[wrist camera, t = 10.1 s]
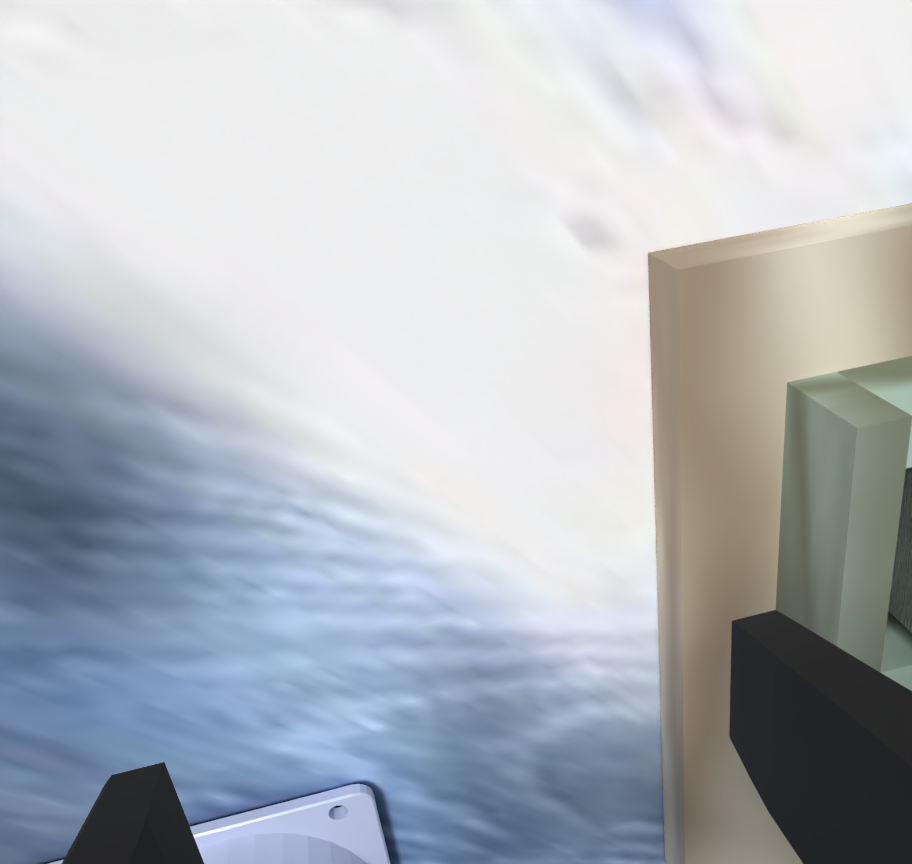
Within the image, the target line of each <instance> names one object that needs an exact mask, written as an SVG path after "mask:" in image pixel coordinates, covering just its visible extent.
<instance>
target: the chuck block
mask: <svg viewBox="0 0 912 864" xmlns="http://www.w3.org/2000/svg"><path fill="white" fill-rule="evenodd" d="M648 263H649V299H650V336H651V372H652V409H653V445H654V481H655V518H656V554H657V591H658V627H659V663H660V700H661V736H662V772H663V809H664V845H665V860H666V862H667V864H803V863H802V861H801V860H800V858H799V857H798V855H797V854H796V852H795V851H794V849H793V848H792V846H791V845H790V843H789V842H788V840H787V839H786V837H785V836H784V834H783V833H782V832H781V830H780V829H779V827H778V825H777V824H776V822H775V821H774V819H773V818H772V816H771V815H770V813H769V812H768V810H767V808H766V807H765V805H764V803H763V801H762V799H761V797H760V795H759V794H758V792H757V790H756V788H755V786H754V784H753V782H752V781H751V779H750V777H749V775H748V773H747V771H746V769H745V767H744V765H743V763H742V761H741V759H740V757H739V755H738V753H737V751H736V749H735V747H734V745H733V743H732V741H731V739H730V737H729V726H730V680H731V634H732V621H733V620H737V619H741V618H745V617H749V616H753V615H757V614H761V613H765V612H769V611H773V610H777V611H779V612H780V613H782V614H784V615H785V616H787V617H789V618H791V619H792V620H794V621H796V622H797V623H799V624H801V625H802V626H804V627H806V628H807V629H809V630H811V631H812V632H814V633H816V634H817V635H819V636H821V637H822V638H824V639H826V640H827V641H829V642H830V643H832V644H834V645H835V646H837V647H839V648H840V649H842V650H844V651H845V652H847V653H849V654H850V655H852V656H854V657H855V658H857V659H859V660H860V661H862V662H864V663H865V664H867V665H869V666H870V667H872V668H874V669H875V670H877V671H878V672H880V673H882V674H884V675H885V676H887V677H889V678H890V679H892V680H894V681H895V682H897V683H899V684H900V685H902V686H904V687H906V688H907V689H909V690H911V691H912V633H911V632H910V631H909V630H908V629H907V628H906V627H905V626H904V625H903V624H902V623H901V622H899V621H898V620H897V619H896V618H895V617H894V616H893V615H892V614H891V613H890V612H889V611H888V607H889V599H890V591H891V583H892V575H893V567H894V559H895V551H896V543H897V535H898V527H899V520H900V512H901V504H902V496H903V488H904V480H905V472H906V468H911V467H912V204H907V205H902V206H897V207H891V208H886V209H881V210H875V211H870V212H865V213H859V214H854V215H849V216H843V217H838V218H833V219H827V220H822V221H817V222H811V223H806V224H801V225H795V226H790V227H785V228H779V229H774V230H769V231H763V232H758V233H752V234H747V235H742V236H736V237H731V238H726V239H720V240H715V241H710V242H704V243H699V244H694V245H688V246H683V247H678V248H672V249H667V250H662V251H656V252H651V253H648Z"/></svg>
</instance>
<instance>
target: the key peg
mask: <svg viewBox="0 0 912 864" xmlns="http://www.w3.org/2000/svg"><path fill="white" fill-rule="evenodd" d="M888 611H889V612H890V613H891V614H892V615H893V616H894V617H895V618H896V619H897V620H898V621H899V622H901V623H902V624H903V625H904V626H905V627H906V628H907V629H908V630H909V631H910V632H911V633H912V467H911V468H906V472H905V480H904V488H903V496H902V504H901V512H900V520H899V527H898V535H897V543H896V551H895V559H894V567H893V575H892V583H891V591H890V599H889V607H888Z"/></svg>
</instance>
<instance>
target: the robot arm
mask: <svg viewBox="0 0 912 864" xmlns="http://www.w3.org/2000/svg"><path fill="white" fill-rule="evenodd" d="M729 737H730V739H731V741H732V743H733V745H734V747H735V749H736V751H737V753H738V755H739V757H740V759H741V761H742V763H743V765H744V767H745V769H746V771H747V773H748V775H749V777H750V779H751V781H752V782H753V784H754V786H755V788H756V790H757V792H758V794H759V795H760V797H761V799H762V801H763V803H764V805H765V807H766V808H767V810H768V812H769V813H770V815H771V816H772V818H773V819H774V821H775V822H776V824H777V825H778V827H779V829H780V830H781V832H782V833H783V834H784V836H785V837H786V839H787V840H788V842H789V843H790V845H791V846H792V848H793V849H794V851H795V852H796V854H797V855H798V857H799V858H800V860H801V861H802V863H803V864H912V691H911V690H909V689H907V688H906V687H904V686H902V685H900V684H899V683H897V682H895V681H894V680H892V679H890V678H889V677H887V676H885V675H884V674H882V673H880V672H878V671H877V670H875V669H874V668H872V667H870V666H869V665H867V664H865V663H864V662H862V661H860V660H859V659H857V658H855V657H854V656H852V655H850V654H849V653H847V652H845V651H844V650H842V649H840V648H839V647H837V646H835V645H834V644H832V643H830V642H829V641H827V640H826V639H824V638H822V637H821V636H819V635H817V634H816V633H814V632H812V631H811V630H809V629H807V628H806V627H804V626H802V625H801V624H799V623H797V622H796V621H794V620H792V619H791V618H789V617H787V616H785V615H784V614H782V613H780V612H779V611H777V610H773V611H769V612H765V613H761V614H757V615H753V616H749V617H745V618H741V619H737V620H733V621H732V634H731V680H730V726H729ZM339 805H342V806H341V807H339V808H333V807H335V806H339ZM48 864H391V862H390V858H389V854H388V850H387V846H386V842H385V838H384V834H383V830H382V826H381V822H380V818H379V813H378V809H377V805H376V801H375V797H374V793H373V791H372V789H371V788H370V787H368V786H367V785H363V784H352V785H348V786H344V787H341V788H337V789H333V790H329V791H325V792H321V793H317V794H314V795H310V796H306V797H302V798H298V799H294V800H290V801H287V802H283V803H279V804H275V805H271V806H267V807H264V808H260V809H256V810H252V811H248V812H244V813H240V814H237V815H233V816H229V817H225V818H221V819H217V820H214V821H210V822H206V823H202V824H198V825H194V826H189V824H188V821H187V819H186V816H185V814H184V811H183V808H182V806H181V803H180V801H179V798H178V796H177V793H176V791H175V788H174V786H173V783H172V781H171V778H170V776H169V773H168V770H167V768H166V765H165V763H164V762H163V763H159V764H155V765H151V766H147V767H143V768H139V769H135V770H131V771H127V772H123V773H119V774H115V775H112V776H111V777H110V778H109V780H108V781H107V782H106V784H105V785H104V787H103V789H102V791H101V793H100V795H99V796H98V798H97V800H96V802H95V804H94V806H93V807H92V809H91V811H90V813H89V815H88V817H87V818H86V820H85V822H84V824H83V826H82V828H81V829H80V831H79V833H78V835H77V837H76V839H75V840H74V842H73V844H72V846H71V848H70V850H69V851H68V853H67V855H66V857H65V859H63V860H60V861H56V862H52V863H48Z"/></svg>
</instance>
